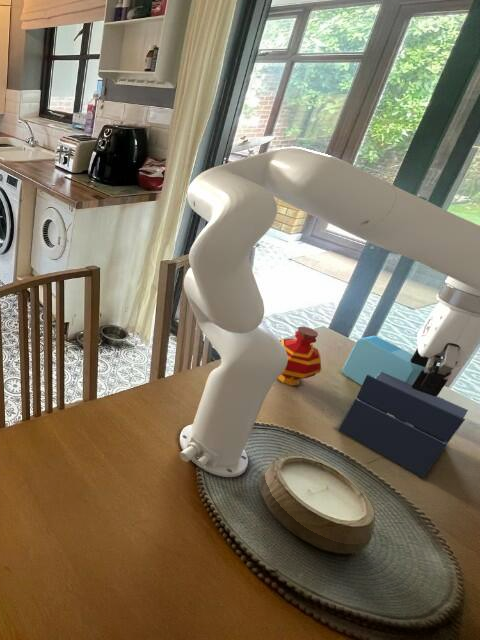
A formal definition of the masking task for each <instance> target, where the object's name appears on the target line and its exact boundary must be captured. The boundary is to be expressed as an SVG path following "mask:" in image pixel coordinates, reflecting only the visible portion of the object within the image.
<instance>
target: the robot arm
mask: <svg viewBox="0 0 480 640" xmlns="http://www.w3.org/2000/svg"><path fill="white" fill-rule="evenodd" d="M186 197H187V198H186V199H187V203H188V205H189V206H190V208H191V209H192V210H193V212H195V213H196V214H197V215H199V217H201V218H202V219H204V220H205V221H207V222H208V223H207V224H206V225H205V226H204V227H203V229H201V231H200V233H199V234H198V235H197V237H196V239H195V240H194V242H193V243H192V244H191V247H190V249H189V253H188V261H189V268H188V269H187V271H186V273H185V275H184V277H183V289H184V293H185V295H186V299H187V300H188V303H189V305H190V308H191V310H192V313H193V315H194V317H195V320H196V322H197V324H198V326H199V328H200V330H201V332H202V333H203V334H204V336H205V338H207V340H208V341H209V343H210V344H211V345H212V347H213V348H214V349H215V351H216V353H217V354H218V355H219V357H220V359H221V362H220V365H219V366H218V367H216V368H214V369H213V370H212V371H210V373H209V375H208V377H207V379H206V382H205V386H204V389H203V391H202V392H203V393H202V395H201V398H200V401H199V404H198V407H197V410H196V413H195V416H194V420H193V422H192V424H189V425H186V426H185V427H183V429H182V430H181V432H180V435H179V444H180V448H181V449H182V451H181V452H179V458H180V459H181V460H182V462H185V463H189V461H191V462H192V463H193V464H194V465H196V466H197V467H199V468H200V469H202V470H203V471H205V472H208V473H210V474H212V475H215V476H218V477H223V478H234V477H239V476H240V475H242V474H244V473H245V472H246V470H247V468H248V465H249V458H248V457H249V456H248V454H247V451H246V450H245V447H246V445H247V443H248V440H249V437H250V435H251V433H252V431H253V428H254V426H255V423H256V421H257V419H258V416H259V414H260V412H261V409H262V406H263V404H264V401H265V400H266V398H267V395H268V394H269V391H270V390H271V388H272V386H273V385H274V384H275V383H276V381H277V380H279V379H278V377H279V376H280V375H281V374H282V373H283V371H284V370H285V368H286V366H287V362H288V356H287V352H286V350H285V348H284V346H283V344H282V343H281V342H280V339H279V338H278V336H277V335H276V334H275V333H274V332H272V330H270V328H269V327H268V326H267V325H266V324H264V322H262V321H263V320H264V315H265V305H264V300H263V297H262V295H261V291H260V289H259V286H258V283H257V280H256V278H255V275H254V271H253V269H252V264H251V261H250V255H251V252H252V250H253V249H254V247H255V246H256V244H257V243H258V242H259V241H260V240H261V239H262V238H263V237H264V236H265V235H266V234H267V233H268V232H269V230H270V229H271V228H272V226H274V225H273V224H274V223H275V220H276V218H277V216H278V215H277V214H278V204H277V201H276V199H278V200H280V201H282V202H284V203H286V204H288V205H290V206H291V207H294V208H295V209H298V210H300V211H302V212H303V213H306V214H308V215H310V216H313V217H314V218H317V219H319V220H321V221H323V222H325V223H327V224H330V225H332V226H334V227H336V228H338V229H340V230H342V231H344V232H346V233H348V234H350V235H352V236H354V237H357V238H359V239H361V240H364V241H366V242H367V243H370V244H372V245H374V246H376V247H378V248H381V249H384V250H386V251H389V252H391V253H394V254H398V255H400V256H402V257H405V258H407V259H410V260H413V261H414V262H417V263H419V264H420V265H423V266H424V267H428V268H430V269H431V270H434V271H436V272H438V273H441V274H443V275H445V276H446V279H445V281H444V282H443V284H442V286H441V287H440V289H439V291H438V293H437V294H436V296H435V299H436V300H437V301H438V303H437V304H436V305H435V307H434V308H433V309H432V311H431V312H430V314H429V316H428V317H427V318H426V320H425V321H424V322H423V324H422V326H421V327H420V329H419V330H418V332H417V335H416V345H417V348H416V350H415V352H414V353H413V356H412V358H411V363H414V364H417V365H420V366H423V367H425V370H423V369H422V370H421V371H420V373H419V374H418V376H417V378H416V379H415V381H414V382H413V384H412V388H413V389H415V390H418V391H421V392H423V393H426V394H429V395H432V396H437V397H439V394H440V393H441V391H442V390H443V389H444V387H445V385H446V384H447V382H448V381H449V380H450V378H451V376H452V372H453V370H454V369H455V368H456V367H460V366H461V365H462V364H463V363H464V362H465V361H466V358H468V356H469V355H470V353H471V352H472V351H473V349H474V347H475V345H476V343H477V342H478V340H479V339H480V225H479V224H476V223H475V222H472V221H470V220H468V219H465V218H463V217H461V216H459V215H457V214H454V213H452V212H450V211H448V210H446V209H444V208H443V207H440V206H438V205H436V204H434V203H432V202H430V201H428V200H425V199H423V198H422V197H419V196H417V195H415V194H413V193H411V192H408V191H406V190H404V189H402V188H400V187H397V186H396V185H394V184H392V183H390V182H387V181H386V180H383V179H381V178H379V177H377V176H375V175H373V174H372V173H369V172H368V171H365V170H364V169H361V168H360V167H357V166H356V165H353V164H352V163H349V162H347V161H346V160H343V159H340V158H338V157H335V156H332V155H328V154H325V153H321V152H317V151H314V150H310V149H306V148H302V147H299V146H298V147H297V146H290V147H282V148H277V149H273V150H268V151H265V152H262V153H258V154H254V155H251V156H248V157H244V158H240V159H237V160H234V161H229V162H227V163H223V164H220V165H217V166H214V167H210V168H209V169H207V170H205V171H202V172H200V173H199V174H198V175H197V176H196V177H195V178H194V179H193V180H192V182H191V183H190V184H189V186H188V189H187V193H186ZM275 198H276V199H275ZM438 364H439V365H438ZM197 457H199V458H197ZM203 466H205V467H206V468H205V467H203ZM207 468H208V469H207Z"/></svg>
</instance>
